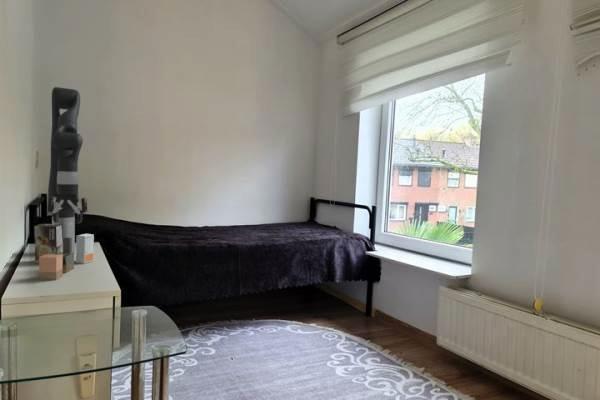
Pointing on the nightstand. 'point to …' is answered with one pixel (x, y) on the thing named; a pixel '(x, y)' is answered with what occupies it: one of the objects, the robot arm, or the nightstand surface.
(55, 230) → the coffee box
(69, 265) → the sleeve
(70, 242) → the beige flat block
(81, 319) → the nightstand surface
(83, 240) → the skincare box
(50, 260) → the peach rectangular block
